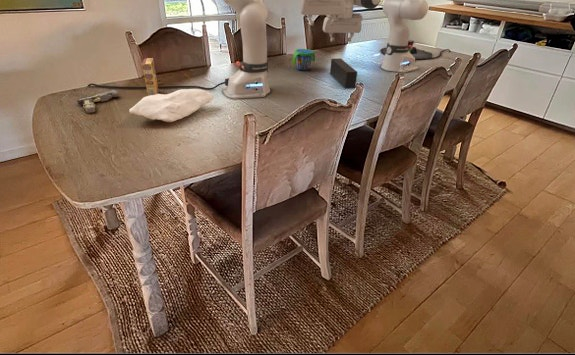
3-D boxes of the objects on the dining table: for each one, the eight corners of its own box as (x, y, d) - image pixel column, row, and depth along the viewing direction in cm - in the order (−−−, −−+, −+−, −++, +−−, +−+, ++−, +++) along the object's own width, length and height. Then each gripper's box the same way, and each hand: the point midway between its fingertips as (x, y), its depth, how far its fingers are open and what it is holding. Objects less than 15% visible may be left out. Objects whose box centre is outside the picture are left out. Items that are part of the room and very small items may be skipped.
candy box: (157, 97, 164) (152, 63, 155) (147, 98, 163) (141, 63, 155) (158, 91, 171) (153, 57, 163) (149, 91, 170) (143, 58, 162)
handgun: (128, 97, 156) (111, 87, 164) (86, 107, 144) (70, 97, 152) (129, 103, 157) (113, 94, 165) (88, 114, 146) (72, 103, 154)
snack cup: (308, 65, 218) (310, 47, 212) (319, 69, 210) (321, 51, 205) (287, 68, 210) (287, 50, 205) (297, 73, 203) (298, 54, 197)
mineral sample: (442, 55, 248) (445, 41, 243) (409, 61, 230) (411, 46, 226) (402, 47, 272) (404, 34, 268) (369, 52, 255) (370, 39, 251)
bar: (355, 87, 186) (357, 71, 181) (345, 88, 184) (347, 72, 180) (339, 73, 206) (340, 58, 202) (329, 73, 205) (331, 58, 201)
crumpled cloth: (117, 110, 146) (113, 90, 140) (195, 92, 166) (194, 73, 160) (143, 139, 134) (140, 118, 128) (223, 116, 154) (224, 96, 148)
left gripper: (344, -9, 166) (340, 24, 173) (300, -10, 162) (298, 24, 169) (348, -7, 161) (344, 26, 168) (304, -8, 157) (302, 26, 164)
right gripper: (360, 12, 190) (356, 40, 197) (323, 12, 186) (320, 40, 193) (365, 14, 184) (361, 42, 192) (326, 14, 180) (324, 43, 188)
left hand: (321, 25), depth 169 cm, fingers open, 8 cm apart
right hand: (340, 41), depth 192 cm, fingers open, 8 cm apart
